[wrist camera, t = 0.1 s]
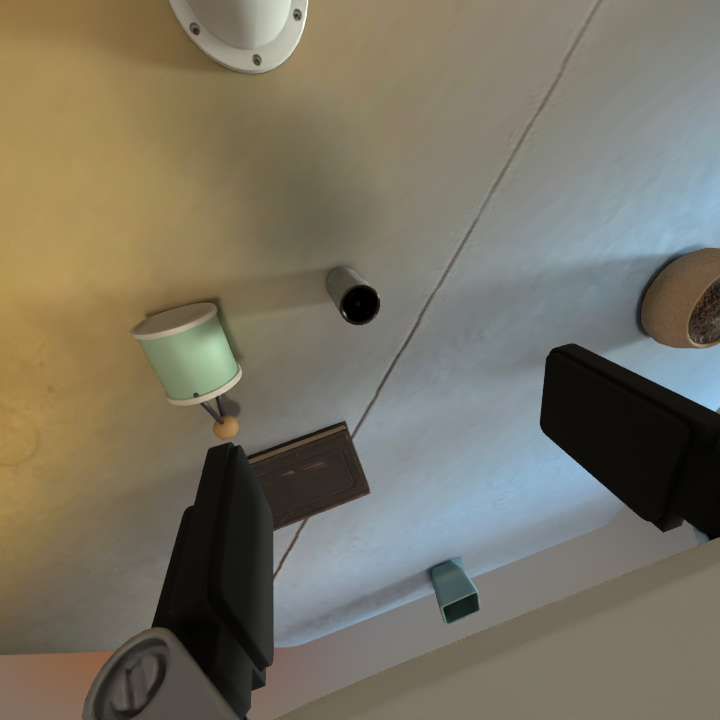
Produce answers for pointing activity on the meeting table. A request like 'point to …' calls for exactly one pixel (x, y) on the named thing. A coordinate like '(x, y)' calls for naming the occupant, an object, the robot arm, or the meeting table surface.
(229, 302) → the meeting table surface
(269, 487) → the hardcover book
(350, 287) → the grey hollow tube
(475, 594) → the flower pot
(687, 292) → the potted plant
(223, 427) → the green hollow rimmed cylinder
